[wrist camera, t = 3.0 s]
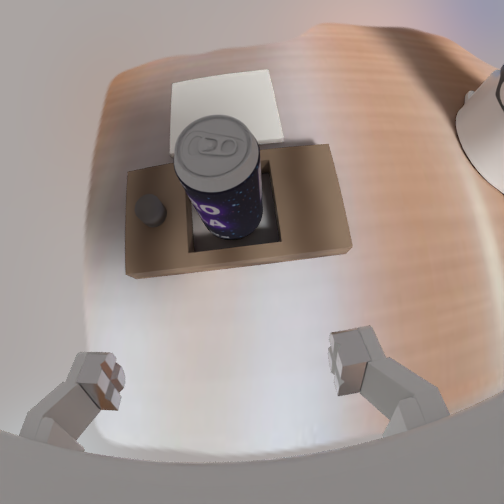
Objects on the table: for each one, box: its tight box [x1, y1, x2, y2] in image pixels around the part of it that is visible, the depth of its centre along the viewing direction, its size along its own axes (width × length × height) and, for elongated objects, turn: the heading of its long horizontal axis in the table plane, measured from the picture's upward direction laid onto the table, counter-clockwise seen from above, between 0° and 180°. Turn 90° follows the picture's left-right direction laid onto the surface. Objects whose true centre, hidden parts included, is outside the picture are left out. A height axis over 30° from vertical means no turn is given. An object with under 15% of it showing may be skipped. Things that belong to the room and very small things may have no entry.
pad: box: [170, 69, 284, 157], centre depth 33 cm, size 12×11×1 cm
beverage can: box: [174, 115, 263, 240], centre depth 24 cm, size 6×6×12 cm
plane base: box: [125, 144, 353, 279], centre depth 28 cm, size 20×10×4 cm, turn 97°
